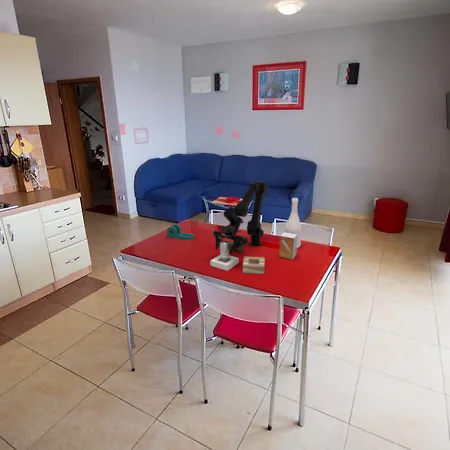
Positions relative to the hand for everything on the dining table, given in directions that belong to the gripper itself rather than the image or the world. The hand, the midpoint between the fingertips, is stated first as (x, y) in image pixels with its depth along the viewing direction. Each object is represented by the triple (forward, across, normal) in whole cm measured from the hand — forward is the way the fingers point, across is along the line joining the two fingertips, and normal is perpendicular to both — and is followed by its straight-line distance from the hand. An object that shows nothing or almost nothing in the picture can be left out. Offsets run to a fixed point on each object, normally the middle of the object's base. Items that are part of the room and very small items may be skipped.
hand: (222, 251), depth 168 cm
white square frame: (+5, 0, +7) cm, 8 cm away
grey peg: (+5, 0, +7) cm, 8 cm away
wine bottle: (-26, +21, +37) cm, 50 cm away
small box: (-15, +24, +27) cm, 39 cm away
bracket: (-7, -48, +20) cm, 52 cm away
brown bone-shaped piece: (-11, -6, +23) cm, 26 cm away
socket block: (+2, +16, +10) cm, 19 cm away
